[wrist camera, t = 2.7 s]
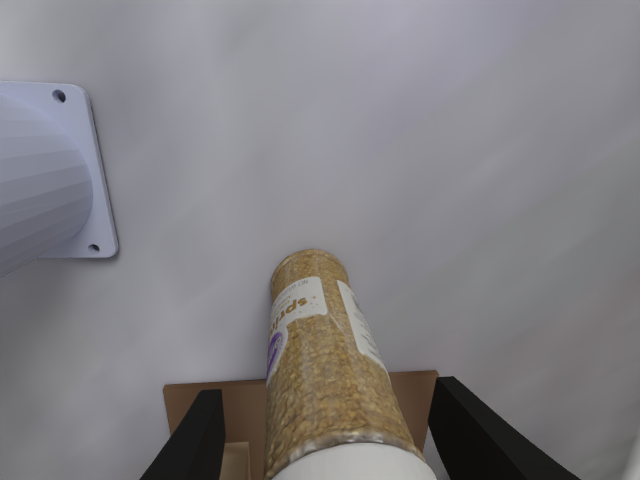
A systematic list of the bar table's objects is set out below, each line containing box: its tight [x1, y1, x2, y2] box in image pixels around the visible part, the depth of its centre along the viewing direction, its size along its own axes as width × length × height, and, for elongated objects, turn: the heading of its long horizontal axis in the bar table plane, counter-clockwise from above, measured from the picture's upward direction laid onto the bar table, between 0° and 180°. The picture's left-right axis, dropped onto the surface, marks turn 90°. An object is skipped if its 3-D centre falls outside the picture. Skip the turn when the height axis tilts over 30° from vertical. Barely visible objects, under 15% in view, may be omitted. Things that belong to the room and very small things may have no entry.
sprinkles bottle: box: [263, 249, 437, 480], centre depth 12 cm, size 5×5×13 cm
